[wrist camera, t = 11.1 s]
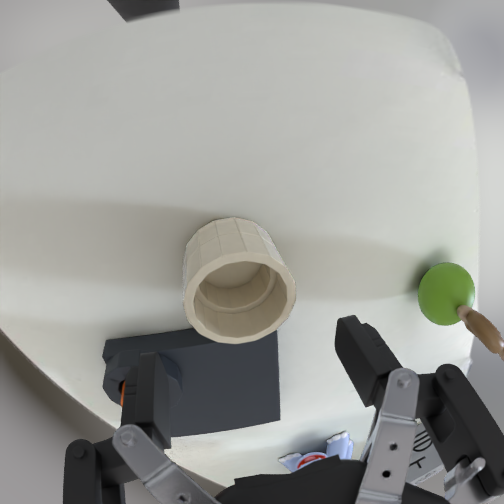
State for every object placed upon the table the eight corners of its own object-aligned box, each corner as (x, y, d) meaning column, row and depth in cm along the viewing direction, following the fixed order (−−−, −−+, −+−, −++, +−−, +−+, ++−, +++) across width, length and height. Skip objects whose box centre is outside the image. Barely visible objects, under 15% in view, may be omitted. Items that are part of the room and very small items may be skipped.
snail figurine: (429, 310, 27) (498, 392, 17) (396, 292, 25) (479, 390, 14) (460, 268, 26) (540, 342, 15) (432, 242, 23) (531, 327, 13)
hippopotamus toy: (338, 416, 33) (366, 477, 25) (356, 446, 41) (376, 492, 33) (261, 448, 34) (278, 511, 26) (296, 471, 42) (311, 518, 33)
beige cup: (175, 222, 18) (172, 264, 14) (270, 207, 19) (295, 243, 15) (192, 299, 21) (196, 351, 17) (274, 285, 22) (296, 332, 17)
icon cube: (385, 442, 44) (406, 484, 35) (430, 417, 44) (454, 456, 35) (380, 458, 49) (398, 494, 40) (421, 436, 49) (440, 471, 40)
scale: (98, 336, 21) (90, 369, 18) (270, 309, 23) (283, 342, 20) (150, 424, 28) (150, 452, 25) (276, 405, 29) (284, 433, 26)
